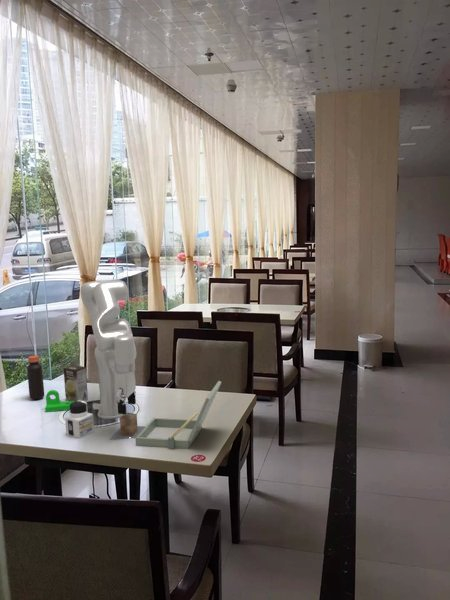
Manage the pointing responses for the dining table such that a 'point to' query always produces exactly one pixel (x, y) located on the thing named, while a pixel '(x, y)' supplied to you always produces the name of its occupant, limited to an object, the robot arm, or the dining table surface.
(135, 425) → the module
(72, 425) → the container
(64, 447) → the dining table surface
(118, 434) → the mat
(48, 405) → the mechanical part
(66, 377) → the coffee box
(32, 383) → the bottle
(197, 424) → the case
